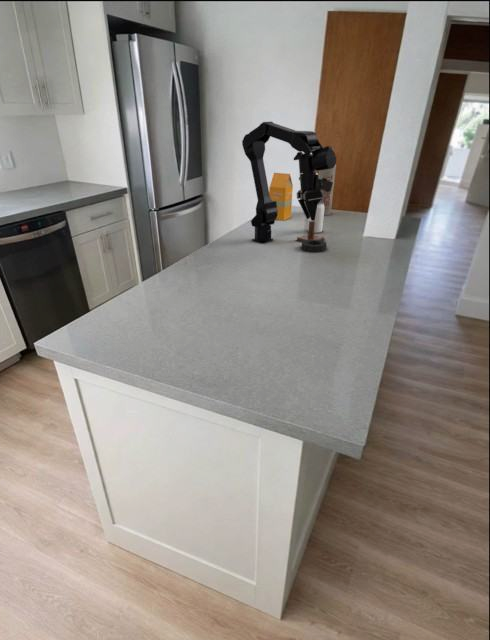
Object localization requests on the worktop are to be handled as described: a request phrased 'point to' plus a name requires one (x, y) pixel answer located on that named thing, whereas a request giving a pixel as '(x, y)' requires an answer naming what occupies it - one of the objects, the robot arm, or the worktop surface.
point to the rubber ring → (314, 245)
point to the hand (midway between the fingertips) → (310, 219)
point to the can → (318, 218)
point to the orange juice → (282, 194)
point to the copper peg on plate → (310, 234)
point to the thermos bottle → (327, 195)
